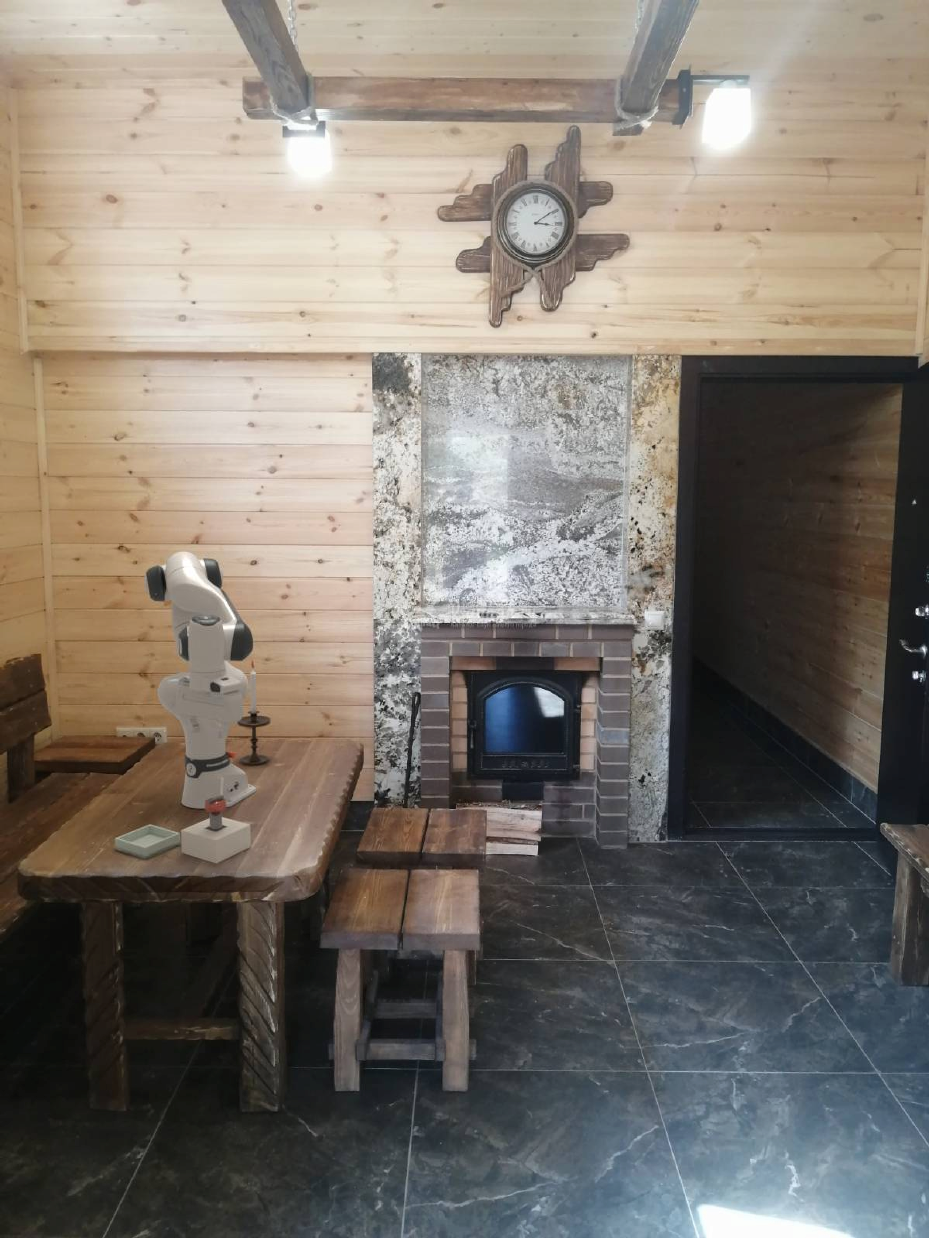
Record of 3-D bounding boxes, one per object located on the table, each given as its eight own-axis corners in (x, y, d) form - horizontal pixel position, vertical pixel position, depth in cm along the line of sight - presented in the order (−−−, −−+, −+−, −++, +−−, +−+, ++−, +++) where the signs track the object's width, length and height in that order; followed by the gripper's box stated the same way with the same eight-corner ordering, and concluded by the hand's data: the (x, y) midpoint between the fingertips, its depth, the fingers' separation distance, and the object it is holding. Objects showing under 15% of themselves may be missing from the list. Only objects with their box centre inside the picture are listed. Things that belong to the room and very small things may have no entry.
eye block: (216, 836, 235) (216, 815, 234) (250, 846, 229) (250, 824, 228) (181, 852, 225) (181, 830, 224) (216, 863, 219) (215, 840, 218)
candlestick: (260, 768, 292) (259, 663, 286) (231, 764, 295) (229, 661, 289) (276, 758, 302) (275, 657, 297) (248, 755, 305) (246, 655, 300)
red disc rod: (216, 844, 231) (215, 793, 228) (231, 848, 228) (230, 797, 226) (201, 850, 226) (200, 799, 224) (216, 855, 224) (215, 803, 222)
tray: (150, 834, 236) (150, 824, 235) (180, 844, 230) (180, 833, 230) (115, 849, 226) (114, 838, 226) (145, 859, 221) (145, 847, 220)
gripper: (168, 678, 223) (170, 731, 225) (228, 687, 213) (229, 743, 215) (187, 674, 229) (189, 726, 230) (246, 683, 218) (248, 737, 220)
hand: (209, 734), depth 223 cm, fingers open, 8 cm apart
